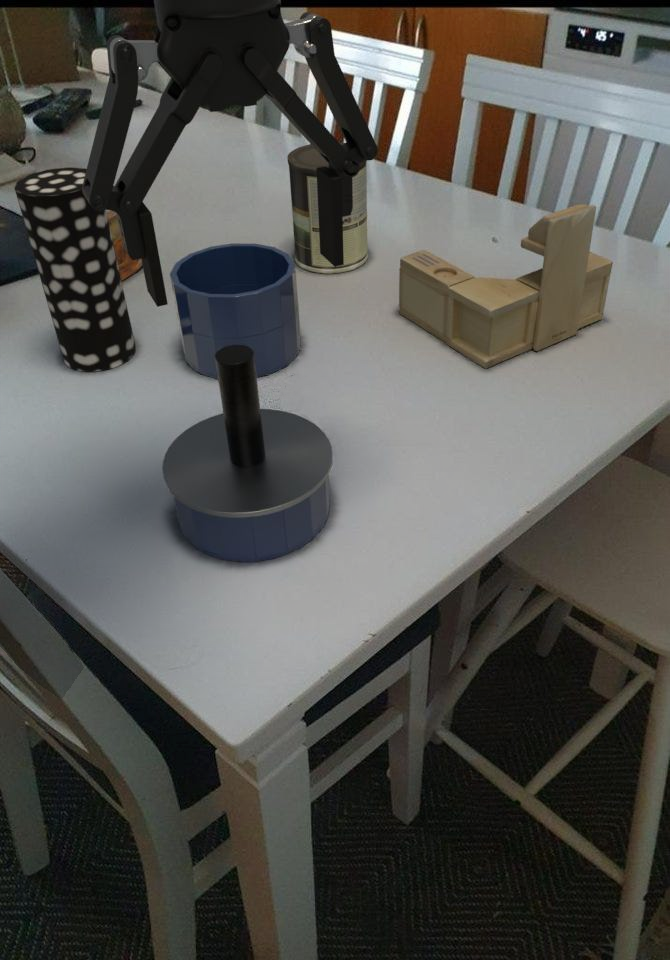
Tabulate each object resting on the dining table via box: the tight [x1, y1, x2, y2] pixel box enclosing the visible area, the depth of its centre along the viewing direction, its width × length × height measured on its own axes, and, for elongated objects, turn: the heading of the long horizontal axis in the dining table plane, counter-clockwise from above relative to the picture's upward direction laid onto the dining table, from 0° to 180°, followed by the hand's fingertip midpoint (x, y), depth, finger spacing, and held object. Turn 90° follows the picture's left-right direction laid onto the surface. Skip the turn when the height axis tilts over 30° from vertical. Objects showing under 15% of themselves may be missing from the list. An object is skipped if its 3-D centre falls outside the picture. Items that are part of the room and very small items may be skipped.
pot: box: [169, 242, 302, 379], centre depth 91 cm, size 13×13×10 cm
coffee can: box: [286, 141, 369, 275], centre depth 108 cm, size 10×10×14 cm
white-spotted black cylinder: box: [13, 166, 137, 373], centre depth 88 cm, size 8×8×20 cm
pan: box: [173, 473, 331, 563], centre depth 71 cm, size 13×13×5 cm
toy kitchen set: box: [398, 203, 614, 369], centre depth 93 cm, size 18×17×15 cm
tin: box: [106, 210, 143, 283], centre depth 107 cm, size 15×3×8 cm, turn 153°
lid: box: [161, 345, 334, 518], centre depth 66 cm, size 14×14×11 cm
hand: (247, 278), depth 60 cm, fingers open, 13 cm apart
